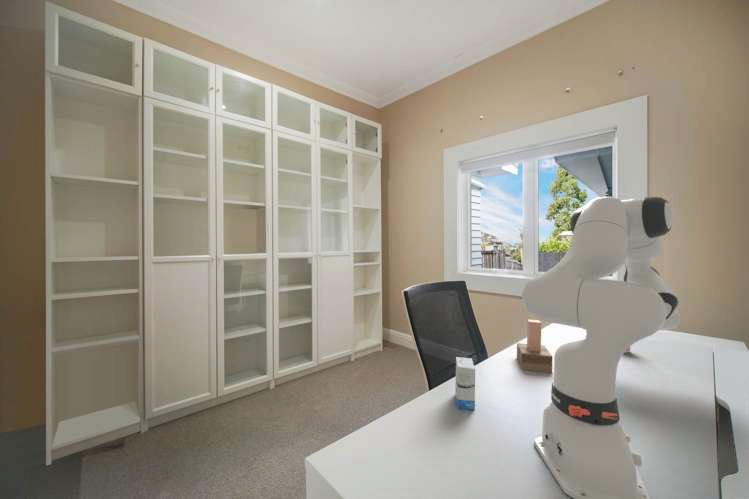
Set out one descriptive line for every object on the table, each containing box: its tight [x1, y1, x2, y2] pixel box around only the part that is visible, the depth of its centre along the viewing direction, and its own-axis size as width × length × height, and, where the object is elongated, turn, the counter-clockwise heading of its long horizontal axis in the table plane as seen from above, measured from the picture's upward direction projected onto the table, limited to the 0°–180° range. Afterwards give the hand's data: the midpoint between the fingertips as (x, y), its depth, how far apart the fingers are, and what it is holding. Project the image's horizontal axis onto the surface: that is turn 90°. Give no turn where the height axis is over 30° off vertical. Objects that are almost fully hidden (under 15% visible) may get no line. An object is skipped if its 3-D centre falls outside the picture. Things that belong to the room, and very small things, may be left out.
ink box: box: [454, 356, 476, 411], centre depth 88 cm, size 8×5×12 cm, turn 168°
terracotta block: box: [526, 319, 542, 352], centre depth 116 cm, size 4×4×11 cm
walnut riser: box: [516, 342, 553, 374], centre depth 116 cm, size 12×10×6 cm
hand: (572, 311), depth 111 cm, fingers open, 8 cm apart
